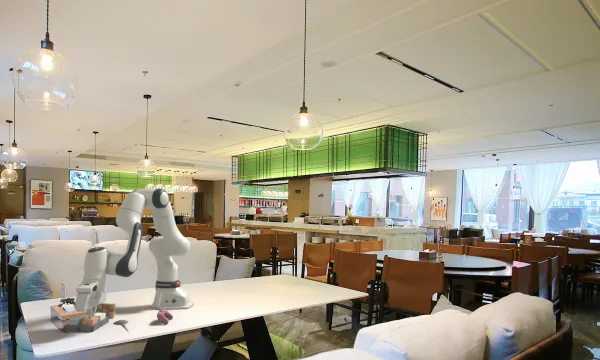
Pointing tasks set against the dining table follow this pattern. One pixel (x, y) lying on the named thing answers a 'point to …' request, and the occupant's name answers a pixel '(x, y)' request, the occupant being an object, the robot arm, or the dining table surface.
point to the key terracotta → (90, 321)
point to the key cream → (100, 316)
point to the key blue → (76, 321)
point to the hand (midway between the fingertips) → (90, 317)
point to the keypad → (85, 326)
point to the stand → (106, 309)
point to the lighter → (67, 301)
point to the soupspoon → (122, 323)
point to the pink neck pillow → (164, 316)
